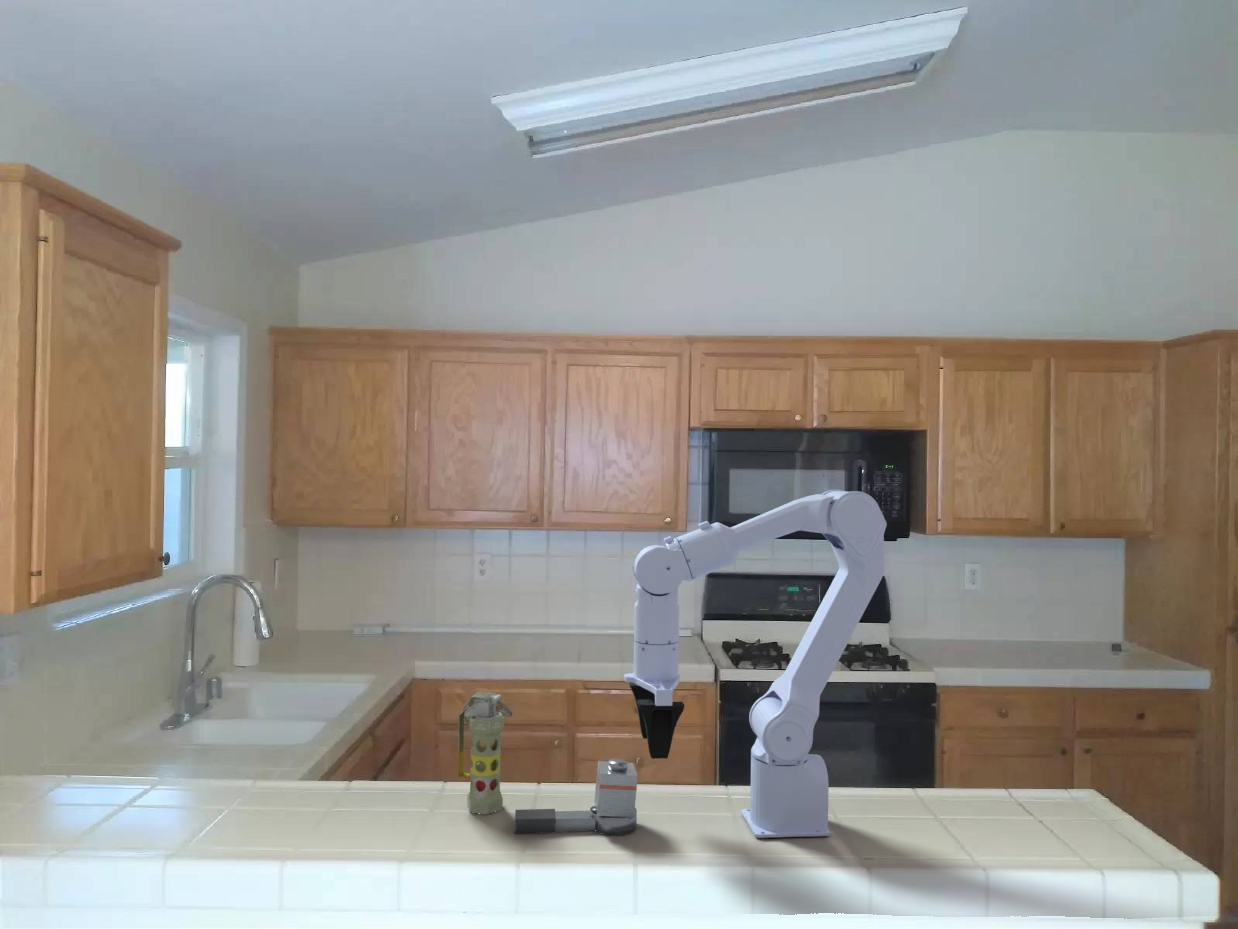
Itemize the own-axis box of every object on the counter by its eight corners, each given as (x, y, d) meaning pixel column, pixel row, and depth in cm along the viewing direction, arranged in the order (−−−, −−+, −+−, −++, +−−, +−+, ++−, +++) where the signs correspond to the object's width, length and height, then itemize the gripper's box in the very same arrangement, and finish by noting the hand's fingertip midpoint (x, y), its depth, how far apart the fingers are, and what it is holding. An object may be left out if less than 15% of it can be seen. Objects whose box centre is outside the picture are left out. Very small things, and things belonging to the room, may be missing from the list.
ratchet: (633, 816, 112) (634, 782, 112) (639, 835, 106) (639, 798, 106) (515, 819, 111) (516, 784, 111) (514, 838, 105) (515, 801, 105)
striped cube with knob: (629, 803, 112) (634, 756, 112) (634, 817, 107) (638, 769, 107) (594, 801, 111) (598, 754, 111) (596, 815, 106) (601, 767, 106)
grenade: (498, 816, 111) (500, 700, 112) (449, 811, 113) (451, 697, 113) (513, 798, 118) (515, 688, 118) (467, 793, 119) (469, 685, 119)
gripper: (619, 629, 116) (617, 730, 116) (631, 653, 102) (629, 768, 102) (670, 629, 117) (669, 729, 117) (690, 652, 103) (688, 766, 103)
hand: (654, 747), depth 110 cm, fingers open, 7 cm apart
